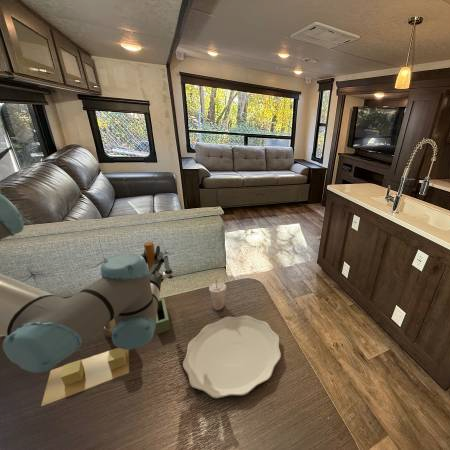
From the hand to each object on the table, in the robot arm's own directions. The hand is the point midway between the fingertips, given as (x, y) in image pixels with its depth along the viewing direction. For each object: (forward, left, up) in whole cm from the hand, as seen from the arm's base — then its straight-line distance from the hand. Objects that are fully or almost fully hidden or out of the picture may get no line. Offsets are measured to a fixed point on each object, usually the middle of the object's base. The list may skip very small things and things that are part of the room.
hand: (153, 250), depth 83 cm
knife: (+5, -1, -12) cm, 13 cm away
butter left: (+17, -23, -25) cm, 39 cm away
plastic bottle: (+4, -14, -27) cm, 31 cm away
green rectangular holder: (+5, -1, -27) cm, 28 cm away
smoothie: (+6, +19, -27) cm, 34 cm away
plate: (+30, +17, -27) cm, 44 cm away
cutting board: (+17, -20, -27) cm, 38 cm away
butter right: (+18, -13, -25) cm, 34 cm away
